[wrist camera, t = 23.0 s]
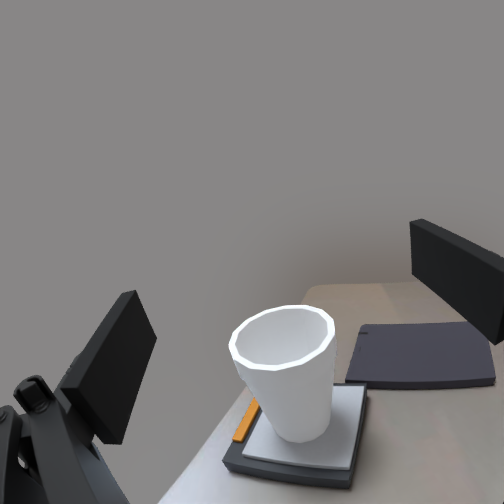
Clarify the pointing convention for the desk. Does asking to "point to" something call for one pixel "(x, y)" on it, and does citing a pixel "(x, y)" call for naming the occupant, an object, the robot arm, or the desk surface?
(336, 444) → the scale
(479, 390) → the desk surface
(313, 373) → the foam cup
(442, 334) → the notebook
